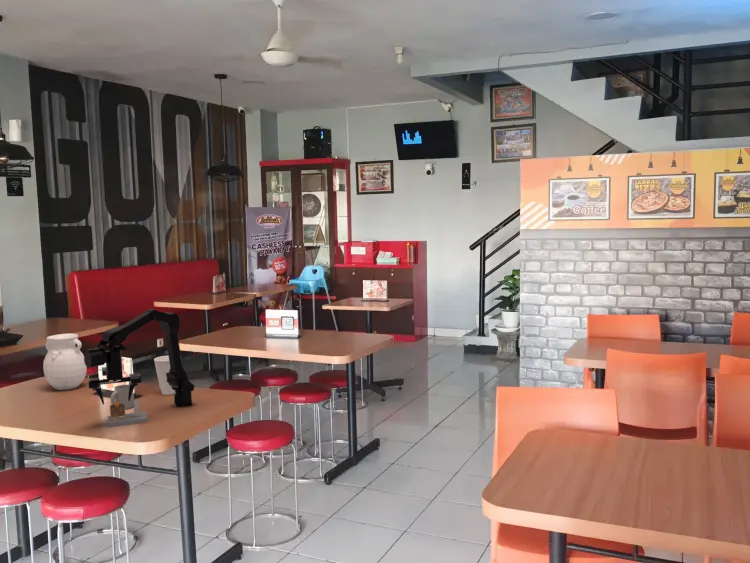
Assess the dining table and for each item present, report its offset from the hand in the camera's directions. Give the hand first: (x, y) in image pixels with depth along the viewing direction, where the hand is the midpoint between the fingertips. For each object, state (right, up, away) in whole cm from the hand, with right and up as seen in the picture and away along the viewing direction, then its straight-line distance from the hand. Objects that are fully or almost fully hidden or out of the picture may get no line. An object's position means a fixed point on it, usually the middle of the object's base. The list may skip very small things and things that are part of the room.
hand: (116, 402), depth 252 cm
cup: (-6, -6, +20) cm, 22 cm away
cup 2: (+7, -4, +44) cm, 45 cm away
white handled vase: (-46, -4, +58) cm, 74 cm away
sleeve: (0, -6, +1) cm, 6 cm away
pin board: (+4, -8, +2) cm, 9 cm away
